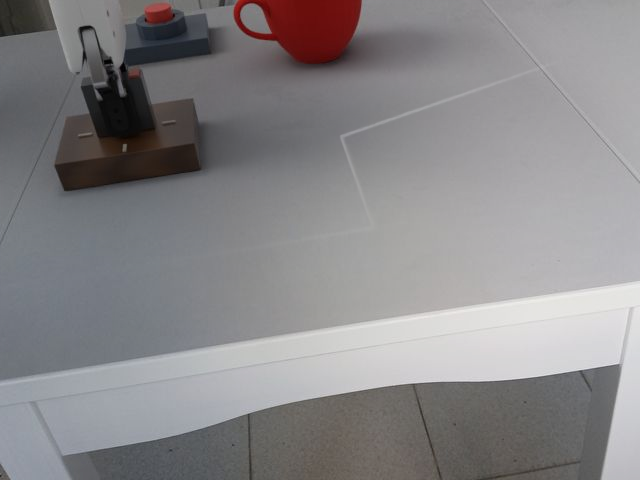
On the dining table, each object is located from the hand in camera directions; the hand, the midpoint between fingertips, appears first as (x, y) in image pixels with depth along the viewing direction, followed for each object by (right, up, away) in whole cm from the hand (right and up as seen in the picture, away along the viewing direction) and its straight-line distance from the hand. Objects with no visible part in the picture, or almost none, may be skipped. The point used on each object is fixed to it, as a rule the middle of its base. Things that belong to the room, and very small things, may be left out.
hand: (125, 123), depth 76 cm
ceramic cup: (+18, +14, +19) cm, 29 cm away
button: (-2, +21, +23) cm, 31 cm away
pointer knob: (0, 0, 0) cm, 1 cm away
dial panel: (0, -3, +3) cm, 4 cm away
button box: (-2, +19, +25) cm, 31 cm away
